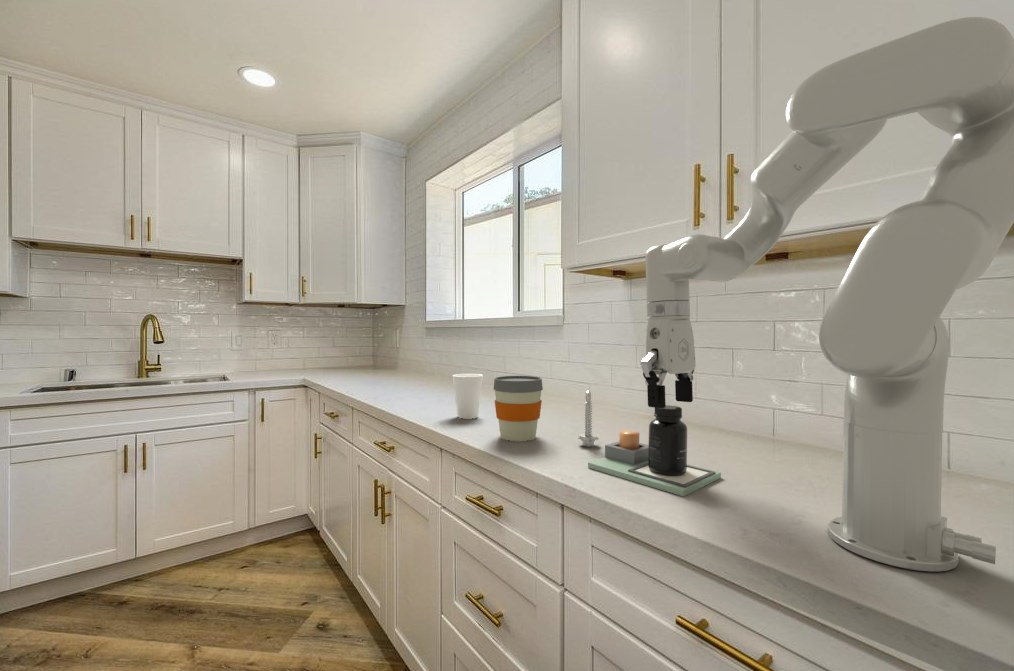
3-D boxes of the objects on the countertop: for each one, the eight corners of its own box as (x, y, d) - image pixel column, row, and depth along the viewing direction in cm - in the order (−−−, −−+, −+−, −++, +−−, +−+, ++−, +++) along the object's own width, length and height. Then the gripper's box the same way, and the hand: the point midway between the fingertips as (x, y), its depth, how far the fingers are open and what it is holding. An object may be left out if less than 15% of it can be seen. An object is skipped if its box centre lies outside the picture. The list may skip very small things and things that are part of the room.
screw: (579, 448, 103) (576, 442, 108) (600, 448, 103) (596, 442, 108) (579, 392, 103) (576, 389, 107) (600, 392, 103) (596, 389, 107)
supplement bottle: (690, 478, 79) (691, 411, 79) (650, 475, 81) (650, 409, 80) (683, 466, 86) (683, 404, 86) (646, 464, 87) (646, 403, 87)
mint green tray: (720, 477, 83) (721, 459, 83) (683, 496, 74) (683, 475, 74) (628, 454, 98) (628, 438, 98) (587, 467, 89) (588, 450, 89)
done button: (643, 452, 92) (643, 432, 92) (632, 455, 89) (632, 436, 89) (626, 448, 95) (626, 429, 95) (615, 451, 92) (615, 432, 92)
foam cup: (471, 412, 146) (471, 373, 145) (489, 417, 138) (488, 375, 138) (447, 416, 140) (446, 375, 139) (463, 421, 132) (463, 377, 132)
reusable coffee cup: (486, 433, 117) (486, 376, 117) (529, 429, 122) (529, 374, 122) (504, 445, 105) (504, 382, 105) (551, 440, 110) (551, 379, 110)
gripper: (661, 309, 74) (664, 412, 74) (709, 312, 86) (712, 401, 85) (623, 312, 80) (626, 407, 80) (673, 314, 91) (675, 398, 91)
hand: (670, 404), depth 83 cm, fingers open, 9 cm apart
